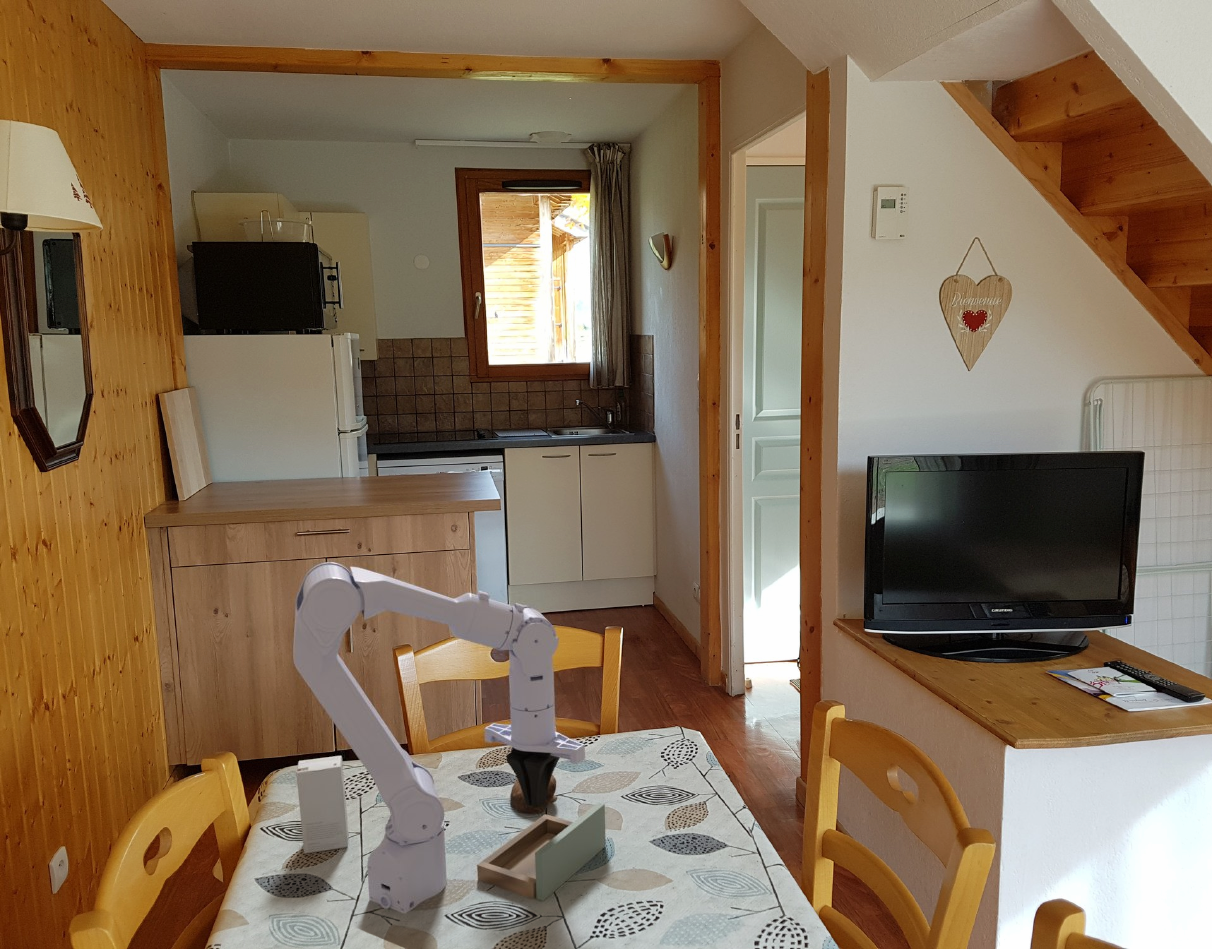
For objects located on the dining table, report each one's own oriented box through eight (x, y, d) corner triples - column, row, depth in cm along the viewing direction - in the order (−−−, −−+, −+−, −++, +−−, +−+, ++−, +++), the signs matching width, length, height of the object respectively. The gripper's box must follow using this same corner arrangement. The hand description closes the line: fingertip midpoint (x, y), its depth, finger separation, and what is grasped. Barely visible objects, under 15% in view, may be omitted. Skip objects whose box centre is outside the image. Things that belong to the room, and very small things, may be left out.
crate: (478, 890, 120) (477, 865, 120) (545, 837, 133) (545, 814, 132) (534, 910, 116) (533, 883, 115) (598, 853, 128) (597, 829, 128)
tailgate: (536, 898, 115) (534, 852, 115) (599, 844, 128) (598, 802, 127) (543, 901, 115) (541, 854, 114) (605, 846, 127) (604, 804, 126)
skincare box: (349, 833, 135) (343, 753, 134) (348, 849, 131) (343, 766, 129) (304, 840, 134) (298, 758, 132) (301, 856, 129) (296, 772, 128)
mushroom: (572, 779, 144) (548, 753, 141) (566, 822, 137) (541, 795, 134) (530, 796, 146) (506, 771, 144) (522, 839, 139) (497, 814, 137)
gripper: (596, 702, 121) (599, 803, 123) (506, 684, 128) (509, 779, 130) (566, 721, 115) (569, 827, 117) (473, 701, 123) (477, 800, 124)
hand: (535, 803), depth 123 cm, fingers closed
